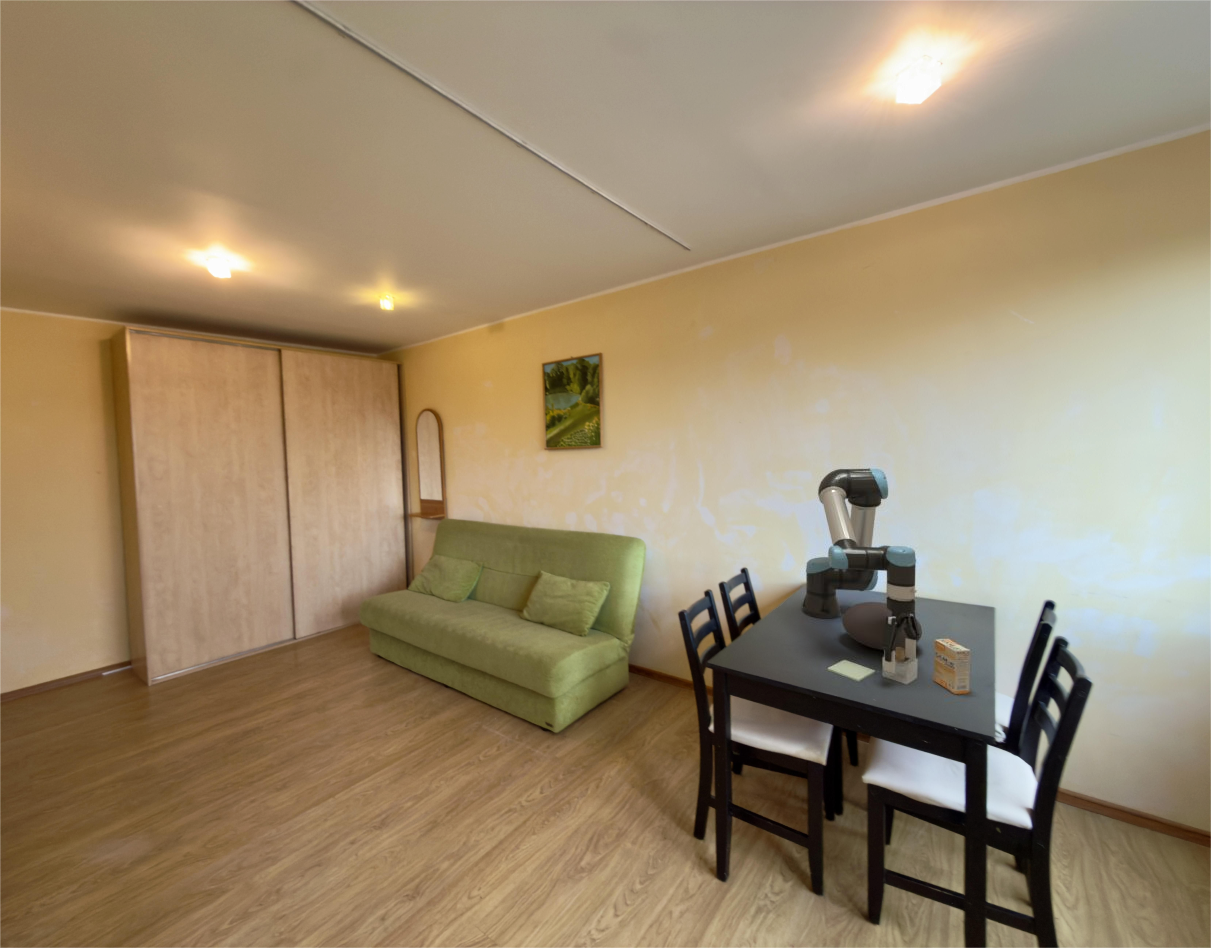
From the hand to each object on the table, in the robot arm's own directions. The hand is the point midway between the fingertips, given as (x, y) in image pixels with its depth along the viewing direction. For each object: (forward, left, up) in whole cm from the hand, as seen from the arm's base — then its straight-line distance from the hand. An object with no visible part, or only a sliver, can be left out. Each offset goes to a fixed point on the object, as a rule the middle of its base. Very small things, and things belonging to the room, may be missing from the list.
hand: (900, 665), depth 151 cm
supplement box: (+12, +5, -4) cm, 14 cm away
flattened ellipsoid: (-15, +19, -4) cm, 25 cm away
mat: (-11, -8, -4) cm, 14 cm away
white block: (0, 0, -4) cm, 4 cm away
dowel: (0, 0, -4) cm, 4 cm away
